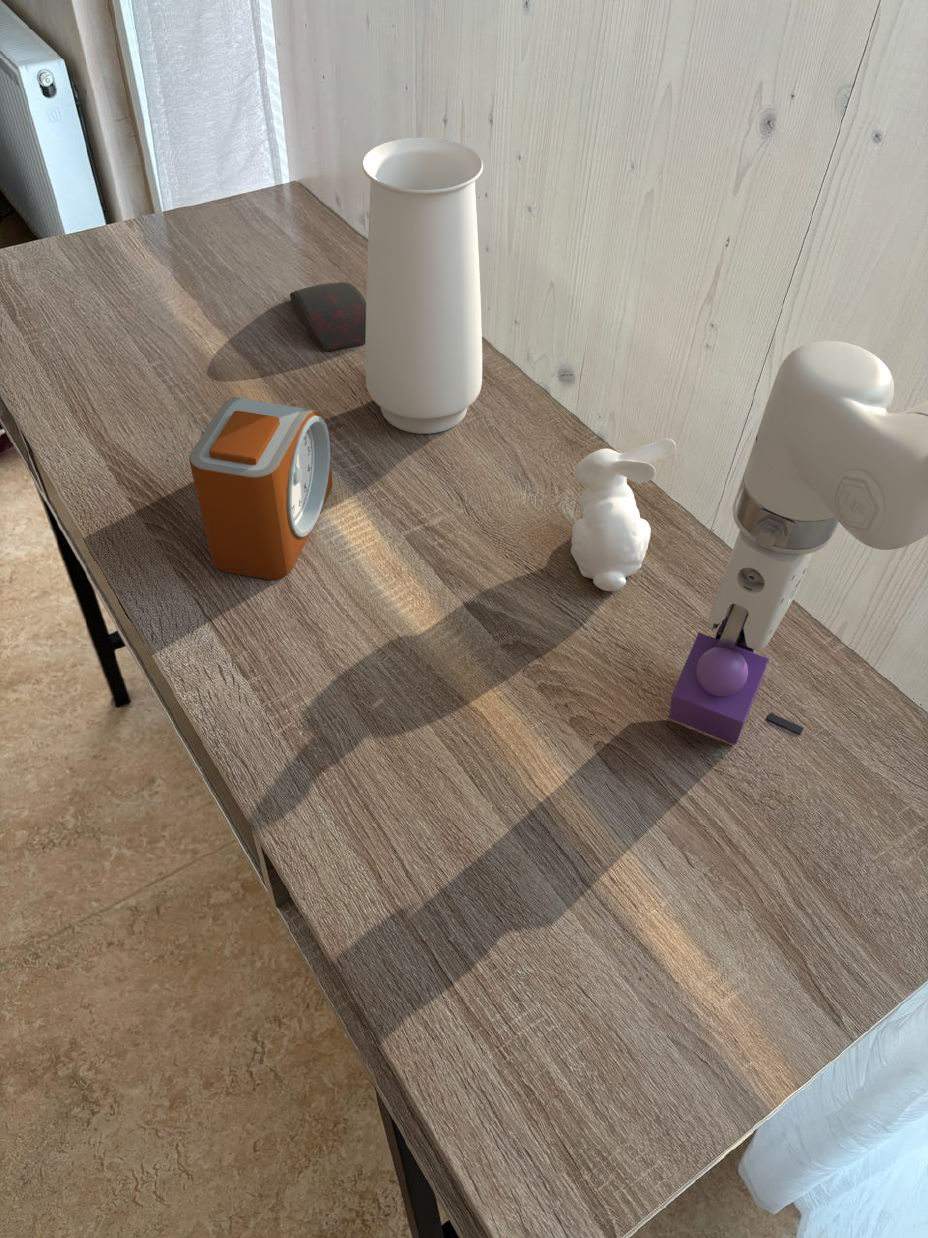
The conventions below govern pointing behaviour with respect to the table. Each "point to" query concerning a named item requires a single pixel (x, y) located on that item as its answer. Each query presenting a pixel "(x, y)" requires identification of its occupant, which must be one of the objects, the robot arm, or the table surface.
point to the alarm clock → (261, 484)
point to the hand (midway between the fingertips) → (728, 659)
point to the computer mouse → (332, 314)
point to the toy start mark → (785, 723)
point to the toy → (717, 688)
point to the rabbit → (613, 513)
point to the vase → (423, 283)
